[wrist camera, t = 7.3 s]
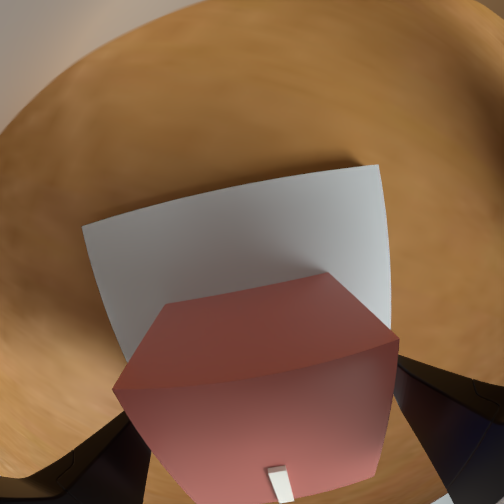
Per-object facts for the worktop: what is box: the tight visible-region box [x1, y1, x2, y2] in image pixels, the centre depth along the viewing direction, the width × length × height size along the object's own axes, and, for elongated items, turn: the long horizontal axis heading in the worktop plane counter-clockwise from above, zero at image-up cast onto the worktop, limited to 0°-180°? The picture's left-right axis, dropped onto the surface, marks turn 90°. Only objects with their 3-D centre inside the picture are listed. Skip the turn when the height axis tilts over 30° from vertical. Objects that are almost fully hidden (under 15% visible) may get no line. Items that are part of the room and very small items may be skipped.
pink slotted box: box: [112, 272, 399, 504], centre depth 8 cm, size 6×6×6 cm
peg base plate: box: [82, 165, 391, 363], centre depth 10 cm, size 12×14×5 cm
